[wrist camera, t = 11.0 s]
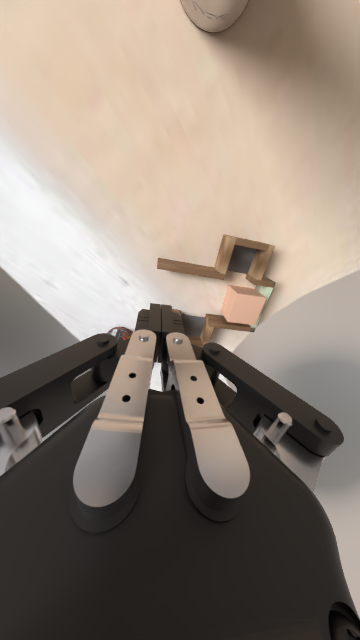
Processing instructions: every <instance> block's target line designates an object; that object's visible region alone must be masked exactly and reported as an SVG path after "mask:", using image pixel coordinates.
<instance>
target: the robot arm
mask: <svg viewBox="0 0 360 640" xmlns="http://www.w3.org/2000/svg"><path fill="white" fill-rule="evenodd" d="M180 1H181V3H182V5H183V8H184V10H185V11H186V13H187V15H188V16H189V18H190V19H191V20H192V21H193V22H194V23H195V24H196V25H197V26H198V27H199V28H201V29H203V30H204V31H208V32H221V31H223V30H225V29H227V28H229V27H230V26H231V25H232V24H233V23H234V22H236V20H237V19H238V18H239V16H240V15H241V14H242V12H243V10H244V8H245V6H246V4H247V2H248V0H180ZM157 355H158V363H161V372H160V374H161V383H162V392H160V391H156V390H152V389H149V388H150V381H151V374H152V369H153V367H154V362H157ZM90 368H91V370H90V371H88V372H87V373H85V374H83V375H82V376H80V377H78V378H77V379H75V377H77V376H78V375H80V374H82V373H83V372H85V371H87V370H88V369H90ZM219 374H222V375H223V376H224V377H226V378H227V379H228V380H229V381H231V382H232V383H233V384H234V385H235V386H236V388H237V393H236V392H235V391H233V390H232V389H231V388H230V387H228V386H227V385H226V384H225V383H223V382H222V381H221V380H220V379H219V378H218V377H219ZM74 379H75V380H74ZM73 380H74V381H73ZM108 388H109V389H108ZM107 389H108V391H107V394H106V395H105V396H103V397H101V398H99V399H97V400H95V401H94V402H92V403H91V404H89V405H88V406H87V407H86V408H85V409H83V410H82V411H81V412H79V413H78V414H77V415H76V416H74V417H73V418H72V419H71V420H70V421H68V422H67V423H66V424H65V425H63V426H62V427H61V428H59V429H58V430H57V431H56V432H55V433H53V434H52V435H51V436H50V437H48V438H47V439H46V440H45V441H43V442H42V438H43V437H44V436H46V435H47V434H48V433H50V432H51V431H52V430H54V429H55V428H56V427H58V426H59V425H60V424H62V423H63V422H64V421H66V420H67V419H68V418H70V417H71V416H72V415H74V414H75V413H76V412H78V411H79V410H80V409H82V408H83V407H84V406H86V405H87V404H88V403H90V402H91V401H92V400H94V399H95V398H96V397H98V396H99V395H100V394H102V393H103V392H104V391H106V390H107ZM343 441H344V437H343V434H342V432H341V430H340V429H339V427H338V426H337V425H336V424H335V423H334V422H333V421H332V420H331V419H330V418H328V417H327V416H325V415H324V414H322V413H321V412H319V411H318V410H316V409H315V408H313V407H312V406H310V405H309V404H308V403H306V402H305V401H303V400H302V399H300V398H299V397H297V396H296V395H294V394H293V393H291V392H290V391H288V390H286V389H285V388H284V387H282V386H281V385H279V384H278V383H276V382H275V381H273V380H272V379H270V378H269V377H267V376H266V375H264V374H263V373H261V372H260V371H258V370H257V369H255V368H254V367H252V366H251V365H249V364H248V363H246V362H245V361H243V360H242V359H240V358H239V357H237V356H236V355H234V354H233V353H231V352H230V351H228V350H227V349H225V348H224V347H222V346H221V345H219V344H216V343H206V344H204V346H203V348H202V347H199V346H196V345H193V344H191V343H190V340H189V338H188V337H187V336H186V335H185V332H184V328H183V323H182V318H181V316H180V315H179V314H178V313H174V312H172V307H171V306H170V305H161V304H152V303H150V310H146V309H142V310H141V311H140V312H139V313H138V318H137V323H136V328H135V332H133V333H132V336H131V337H130V338H128V339H125V340H119V341H117V339H116V337H115V336H113V335H111V334H106V333H102V334H97V335H94V336H92V337H90V338H87V339H85V340H83V341H81V342H79V343H76V344H74V345H72V346H70V347H68V348H65V349H63V350H61V351H59V352H57V353H54V354H52V355H50V356H48V357H46V358H43V359H41V360H39V361H37V362H35V363H32V364H30V365H28V366H26V367H24V368H22V369H19V370H17V371H15V372H13V373H10V374H8V375H6V376H4V377H2V378H0V640H360V618H359V616H358V614H357V611H356V609H355V606H354V603H353V601H352V598H351V595H350V592H349V589H348V586H347V583H346V580H345V577H344V573H343V569H342V566H341V562H340V557H339V552H338V547H337V542H336V538H335V535H334V532H333V528H332V526H331V523H330V521H329V519H328V517H327V515H326V513H325V511H324V509H323V507H322V505H321V504H320V502H319V501H318V499H317V498H316V496H315V495H314V493H313V491H314V488H315V484H316V481H317V477H318V474H319V470H320V467H321V463H322V461H323V460H324V459H325V458H326V457H327V456H329V455H330V454H331V453H332V452H333V451H334V450H335V449H336V448H337V447H339V445H341V444H342V443H343ZM41 442H42V443H41Z"/></svg>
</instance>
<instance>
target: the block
mask: <svg viewBox="0 0 360 640" xmlns="http://www.w3.org/2000/svg"><path fill="white" fill-rule="evenodd" d="M265 301H266V297H265V296H264V295H262V294H261V293H260V292H258V291H257V290H256V289H251V288H245V287H238V286H232V285H229V286H228V289H227V292H226V295H225V298H224V301H223V304H222V308H221V313H222V314H223V316H224V317H225V319H226V320H227V322H234V323H242V324H250V325H255V324H256V322H257V319H258V317H259V315H260V312H261V310H262V308H263V305H264V303H265Z"/></svg>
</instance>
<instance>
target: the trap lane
mask: <svg viewBox="0 0 360 640" xmlns="http://www.w3.org/2000/svg"><path fill="white" fill-rule="evenodd" d="M274 247H275V246H273V245H269V244H265V243H261V242H256V241H251V240H247V239H242V238H237V237H232V236H228V235H223V238H222V242H221V245H220V249H219V253H218V256H217V260H216V264H215V267H214V268H213V267H207V266H201V265H196V264H190V263H184V262H179V261H173V260H167V259H162V258H158V262H157V269H163V270H169V271H175V272H181V273H187V274H193V275H199V276H205V277H211V278H217V279H223V280H224V278H225V274H226V271H227V270H229V271H234V272H240V273H246V274H247V276H246V279H247V280H248V281H250V282H251V283H253V284H254V285H257V286H256V290H257V291H258V292H260V293H261V294H262V295H264V296H265V297H266V301H265V303H264V305H263V308H262V310H261V312H260V315H259V317H258V319H257V322H256V324H255V325H250V324H242V323H234V322H227V320H226V319H225V317H224V316H220V315H213V314H206V317H205V318H204V317H196V316H188V315H181V314H180V310H174V309H172V312H174V313H178V314H179V315H180V316H181V318H182V323H183V328H184V332H185V335H186V336H187V337H188V338H189V340H190V343H191V344H193V345H196V346H199V347H202V348H203V346H204V344H206V343H209V342H210V339H211V335H212V332H213V329H214V327H215V328H223V329H232V330H240V331H249V332H254V330H255V328H256V326H257V324H258V322H259V319H260V317H261V315H262V313H263V310H264V308H265V306H266V303H267V301H268V299H269V297H270V294H271V292H272V290H273V288H274V285H275V282H273V281H272V280H270V279H268V278H266V277H264V276H263V274H264V272H265V269H266V267H267V264H268V262H269V259H270V257H271V254H272V252H273V249H274Z"/></svg>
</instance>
